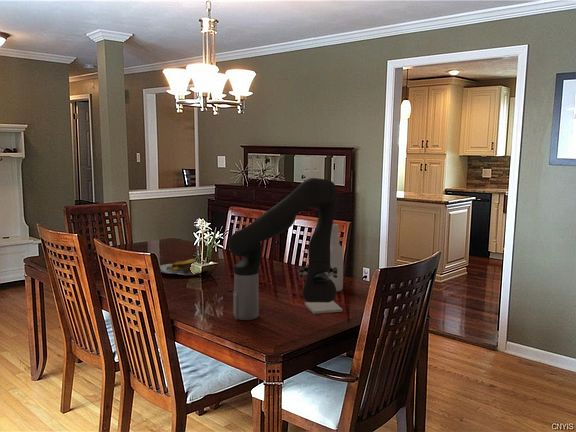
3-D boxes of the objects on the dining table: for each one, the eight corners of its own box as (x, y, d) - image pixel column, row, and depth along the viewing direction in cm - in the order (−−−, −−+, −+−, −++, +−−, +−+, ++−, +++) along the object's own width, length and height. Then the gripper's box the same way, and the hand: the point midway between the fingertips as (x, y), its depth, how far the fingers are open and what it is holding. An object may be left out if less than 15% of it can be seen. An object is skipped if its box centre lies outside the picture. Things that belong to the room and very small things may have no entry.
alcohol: (320, 287, 242) (321, 223, 238) (337, 286, 245) (338, 222, 241) (328, 292, 234) (329, 226, 230) (346, 291, 237) (347, 225, 233)
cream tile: (313, 313, 205) (313, 311, 205) (304, 304, 216) (304, 302, 216) (342, 311, 208) (342, 309, 208) (332, 302, 219) (332, 300, 219)
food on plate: (160, 267, 279) (160, 255, 278) (207, 266, 283) (207, 254, 282) (155, 280, 254) (154, 266, 253) (207, 278, 258) (207, 265, 257)
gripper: (339, 268, 183) (337, 258, 199) (298, 267, 183) (299, 257, 199) (339, 289, 184) (336, 277, 200) (298, 288, 184) (299, 276, 200)
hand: (318, 267), depth 200 cm, fingers closed on supplement box, 7 cm apart
